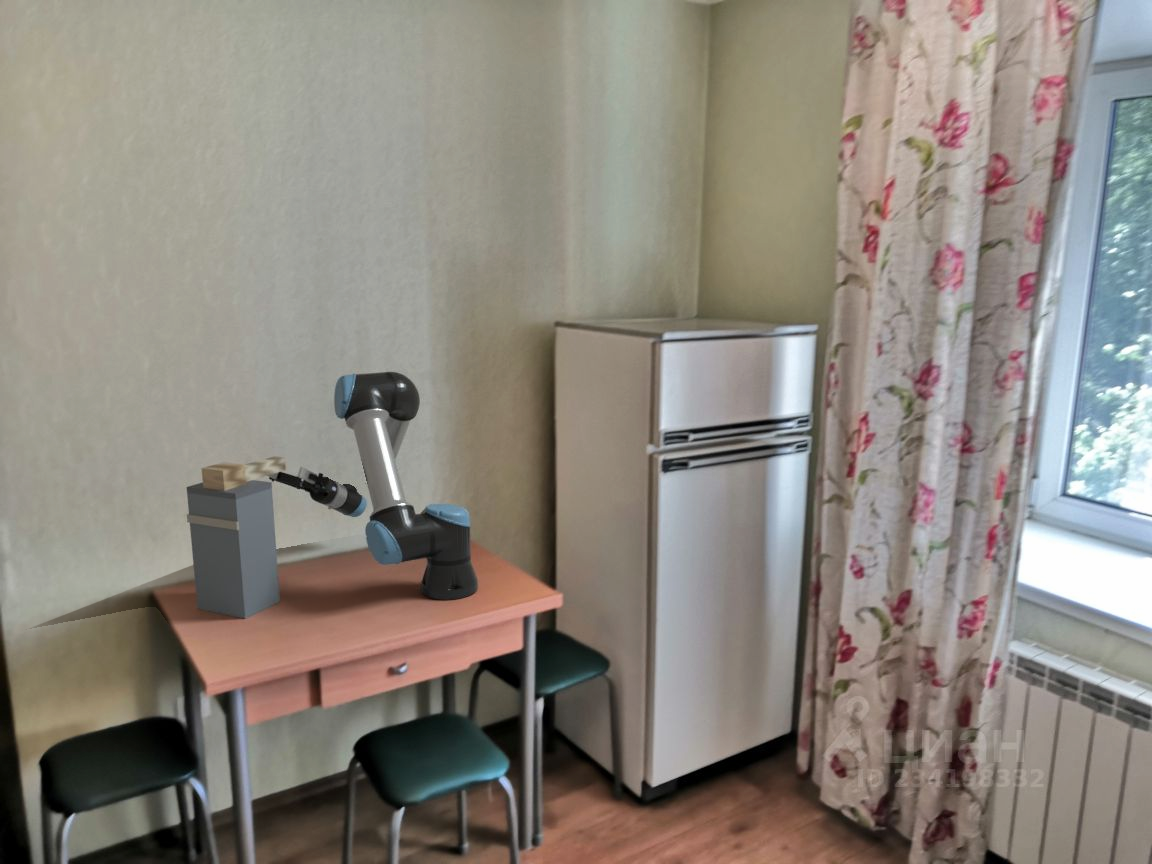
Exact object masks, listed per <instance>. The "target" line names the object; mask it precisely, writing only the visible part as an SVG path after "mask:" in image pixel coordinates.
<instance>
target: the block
mask: <svg viewBox="0 0 1152 864" xmlns="http://www.w3.org/2000/svg"><path fill="white" fill-rule="evenodd" d="M286 467H287V466H286V457H284V456H276V455H275V456H274V455H273V456H270V457H267V458H264V459H259V460H256V461H253V462H249V463H246V464H242V463H241V464H240V463H232V462H220V463H215V464H212V465H208V466H204V467H201V476H202V482H203V488H208V489H215V490H223V491H225V490H229V489H232V488H235V487H239V486H242V485H245V484H246V482H248V481H251V480H258V479H260V478H265V477H269V476H268V475H271V474H274V473H278V472H284V471H286V470H287V468H286Z"/></svg>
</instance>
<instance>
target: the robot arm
mask: <svg viewBox="0 0 1152 864" xmlns="http://www.w3.org/2000/svg"><path fill="white" fill-rule="evenodd" d="M333 397H334V399H333V401H334V402H333V403H334V405H333V406H334V413H335V416H336V418H338V419H341V420H343V419H344V421H345V424H346V425H345V426H346V427H347V428H349V429H351V430H353V432H354V437H355V441H356V445H357V449H358V452H359V458H360V460H361V461H362V465H363V469H364V473H365V477H366V481H367V483H366V485H367V489H368V492H369V497H370V500H371V501H370V502H371V504H372V509H373V510H372V513H371V514H370V515H369V521H368V522H367V524H366V525H365V533H364V534H365V536H366V537H365V539H366V544H367V546H368V549H369V552H370V554H371V555H372V558H373V559H374V560H375V561H376V562H378V564H380V565H382V566H384V565H385V566H389V565H399V564H401V563H406V562H410V561H414V560H415V561H416V560H422V559H426V566H425V569H424V572H423V575H422V580H421V584H420V586H421V588H420V589H421V594H422V595H424V596H425V597H427V598H430V599H435V600H442V601H443V600H446V601H447V600H459V599H463V598H467V597H469V596H472V595H473V594H475V593H476V592H477V591H478V590H479V579H478V577H477V575H476V571H475V569H474V566H473V564H472V553H471V552H472V549H471V525H472V524H471V522H470V519H471V518H470V513H469V511H468V510H467V509H466V508H465V507H462V506H460V505H455V504H450V503H448V504H447V503H432V504H428V505H426V506H425V508H424V509H425V510H424V509H423V510H424V511H425V513H421V512H420V513H416V510H415V507H414V505H413V504H411V503H409V502H407V499H406V497H405V493H404V492H405V491H404V489H403V485H402V482H401V477H400V472H399V473H398V469H397V465H396V461H395V459H397V457H398V454H399V451H400V449H401V446H402V443H403V440H404V438H405V436H406V433H407V430H408V428H409V425H410V423H411V421H413V419H415V418H416V416H417V415H418V412H419V409H420V403H421V402H420V400H421V398H420V393H419V391H418V388H417V387H416V384H415V383H414V382H413V381H412V380H411V379H410V378H409V377H407V376H406V375H405V374H402V373H399V372H397V371H386V372H381V371H380V372H370V373H369V372H368V373H352V374H345V375H342V376H340V377H338V379H337V381H336V384H335V388H334V395H333ZM267 477H268V479H269V480H271V482H277V483H281V484H283V485H287V486H289V487H292V488H295V489H297V490H303V491H305V492H307V493H309V496H310V498H311V499H312V500H313V501H315V502H316V503H319V504H322V505H324V506H326V507H327V509H328V510H334V511H337V512H338V513H341V514H343V515H344V516H348V517H350V516H351V518H356V517H359V516H360V517H361V515H362V514H364V512H365V511H366V509H367V504H368V501H367V499H365V498H366V497H365V496H364V495H363V494H362V495H363V496H364V497H365V498H364V497H363V496H362V495H360V494H361V493H360V492H359V491H358V488H357V487H356V488H357V489H356V488H355V487H354V486H352V485H350V484H343V485H341V484H339V483H338V482H336V481H333V480H331V479H329V478H328V477H326V476H324V473H322V472H318V474H317V473H314V472H313V471H311V470H309V469H307V468H304V467H302V466H300V467H299V470H298V474H297V475H293V474H289V473H287V472H284V471H281V472H278V473H274V474H271V475H268V476H267ZM357 491H358V492H357ZM359 493H360V494H359ZM477 589H478V590H477Z"/></svg>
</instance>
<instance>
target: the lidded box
mask: <svg viewBox="0 0 1152 864" xmlns="http://www.w3.org/2000/svg"><path fill="white" fill-rule="evenodd" d="M186 496H187V507H188V508H187V509H188V513H187V514H186V519H187V523H189V530H190V540H191V551H192V562H193V573H194V574H193V575H194V585H195V597H196V607H197V608H196V609H197V610H202V611H207V612H210V613H216V614H220V613H221V615H226V616H229V617H230V616H231V617H235V618H239V619H244V620H245V619H247V618H250V617H252V616H254V615H256V614H258V613H260V612H263V611H264V610H267V609H268V608H271V607H272V606H274V605H277V604H278V603H280V602H281V599H280V598H281V596H280V584H279V572H278V570H279V569H278V557H277V556H278V555H277V543H276V532H275V531H276V525H275V515H274V499H273V498H274V497H273V486H272V481H265V480H264V481H263V480H258V479H254V480H251V481H248V482H246V484H245V485H242V486H239V487H235V488H232V489H229V490H225V491H223V490H215V489H208V488H203V481H202V482H199V483H196V484H192V485H189V486H186Z"/></svg>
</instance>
